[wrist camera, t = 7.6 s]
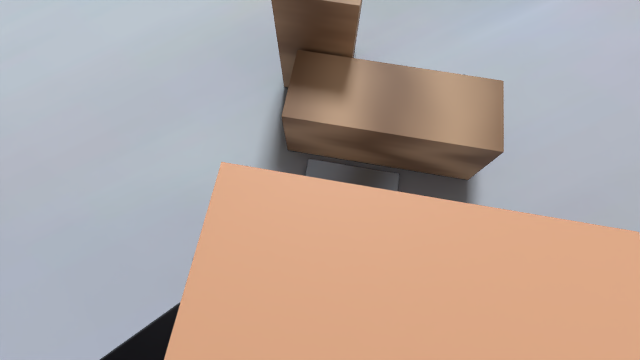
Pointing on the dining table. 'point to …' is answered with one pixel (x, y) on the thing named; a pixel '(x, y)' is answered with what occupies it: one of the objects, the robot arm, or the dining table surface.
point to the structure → (377, 104)
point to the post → (399, 278)
